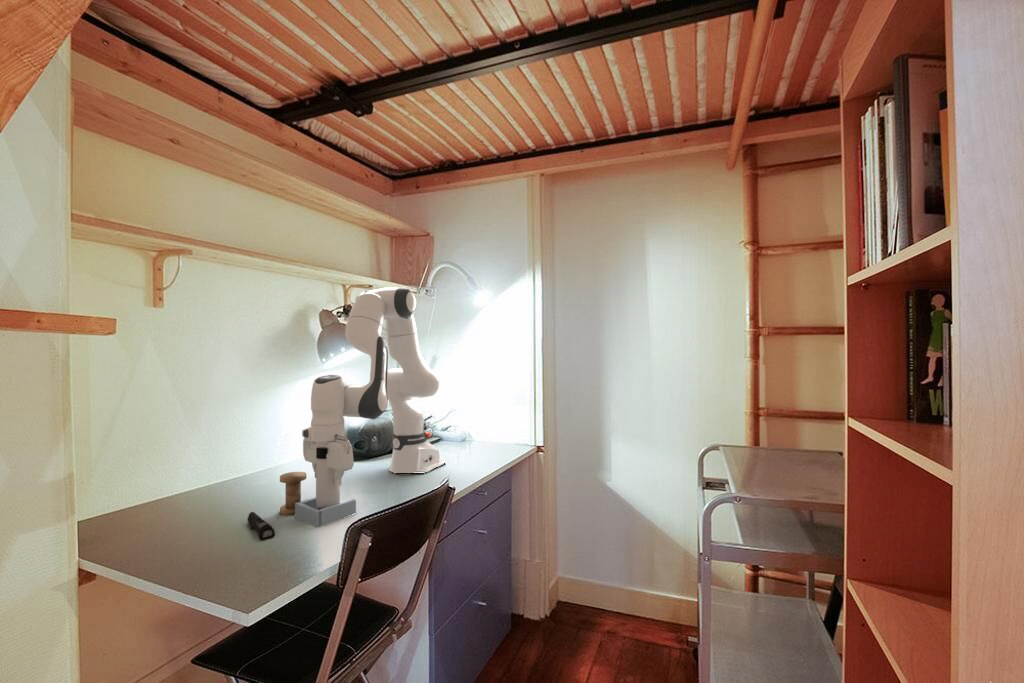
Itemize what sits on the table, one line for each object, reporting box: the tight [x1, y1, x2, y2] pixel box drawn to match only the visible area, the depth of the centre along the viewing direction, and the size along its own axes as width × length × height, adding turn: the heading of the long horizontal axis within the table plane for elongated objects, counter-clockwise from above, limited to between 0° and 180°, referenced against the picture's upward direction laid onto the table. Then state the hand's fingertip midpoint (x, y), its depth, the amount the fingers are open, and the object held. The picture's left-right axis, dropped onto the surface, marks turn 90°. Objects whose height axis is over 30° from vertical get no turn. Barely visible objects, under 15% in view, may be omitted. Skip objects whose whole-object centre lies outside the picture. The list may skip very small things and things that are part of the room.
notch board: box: [294, 496, 357, 528], centre depth 127 cm, size 12×11×4 cm
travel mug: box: [315, 448, 341, 510], centre depth 127 cm, size 6×7×20 cm
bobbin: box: [279, 471, 307, 516], centre depth 130 cm, size 7×7×10 cm
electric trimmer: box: [247, 511, 276, 541], centre depth 117 cm, size 4×16×3 cm, turn 43°
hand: (327, 481), depth 127 cm, fingers open, 8 cm apart
